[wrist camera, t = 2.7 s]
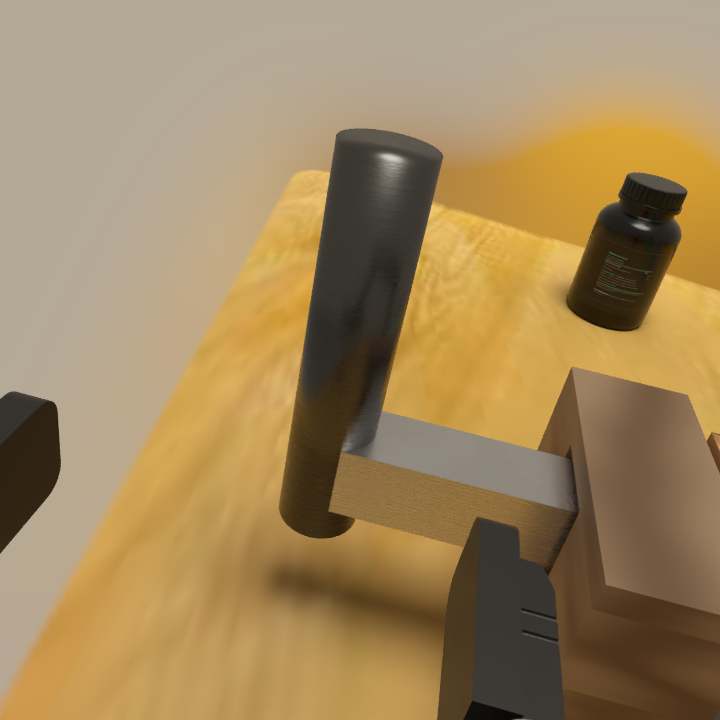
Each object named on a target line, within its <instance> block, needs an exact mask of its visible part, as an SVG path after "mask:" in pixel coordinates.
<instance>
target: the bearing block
mask: <svg viewBox="0 0 720 720" xmlns="http://www.w3.org/2000/svg"><path fill="white" fill-rule="evenodd" d="M537 451H541V452H545V453H549V454H553V455H557V456H561V457H565V458H569V459H572V460H573V466H574V473H575V481H576V489H577V496H578V504H579V514H578V516H577V518H576V520H575V522H574V524H573V526H572V528H571V531H570V533H569V535H568V537H567V539H566V541H565V543H564V545H563V547H562V549H561V551H560V553H559V555H558V557H557V559H556V561H555V564H554V566H553V568H552V570H548V569H544V570H545V572H546V574H547V576H548V578H549V580H550V582H551V584H552V586H553V588H554V590H555V599H556V611H557V619H556V622H557V624H558V636H559V640H558V645H559V649H560V661H561V674H562V686H563V698H564V711H565V720H720V473H719V471H718V468H717V466H716V464H715V461H714V459H713V456H712V454H711V451H710V449H709V446H708V444H707V441H706V439H705V436H704V434H703V432H702V429H701V427H700V424H699V422H698V419H697V417H696V414H695V412H694V409H693V407H692V404H691V402H690V399H689V397H688V395H685V394H681V393H677V392H673V391H669V390H665V389H661V388H657V387H653V386H649V385H645V384H641V383H637V382H632V381H628V380H624V379H620V378H616V377H612V376H608V375H604V374H600V373H596V372H592V371H588V370H584V369H580V368H576V367H571V370H570V372H569V375H568V377H567V379H566V382H565V384H564V387H563V389H562V392H561V394H560V396H559V399H558V401H557V404H556V406H555V409H554V411H553V413H552V416H551V418H550V421H549V423H548V426H547V428H546V430H545V433H544V435H543V438H542V440H541V443H540V445H539V447H538V450H537Z"/></svg>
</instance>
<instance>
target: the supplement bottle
mask: <svg viewBox="0 0 720 720" xmlns="http://www.w3.org/2000/svg"><path fill="white" fill-rule="evenodd" d="M686 195H687V190H686V189H685V188H684V187H683V186H681V185H680V184H678V183H676V182H673V181H671V180H668V179H665V178H662V177H659V176H655V175H650V174H645V173H635V172H634V173H629V174H628V175H627V176H626V179H625V181H624V184H623V186H622V189H621V190H620V192H619V195H618V196H619V198H620V201H619V202H616V203H612V204H609V205H607V206H606V207H605V208H603V209H602V210H601V211H600V213H599V215H598V217H597V219H596V222H595V224H594V227H593V230H592V232H591V235H590V237H589V240H588V243H587V245H586V248H585V251H584V253H583V256H582V258H581V261H580V264H579V266H578V269H577V271H576V274H575V277H574V279H573V282H572V285H571V288H570V290H569V293H568V303H569V305H570V307H571V309H572V310H573V311H574V312H575V313H576V314H578V315H579V316H580V317H582V318H584V319H585V320H587V321H589V322H591V323H594V324H596V325H599V326H602V327H606V328H610V329H616V330H630V329H634V328H636V327H638V326H639V325H641V323H642V322H643V321H644V319H645V317H646V315H647V312H648V310H649V308H650V306H651V304H652V302H653V300H654V297H655V295H656V293H657V291H658V289H659V287H660V284H661V282H662V280H663V278H664V276H665V273H666V271H667V269H668V267H669V265H670V263H671V260H672V258H673V256H674V253H675V252H676V250H677V247H678V245H679V243H680V240H681V229H680V227H679V225H678V223H677V222H676V221H675V220H674V216H675V215H678V214H680V212H681V210H682V204H683V202H684V200H685V198H686Z"/></svg>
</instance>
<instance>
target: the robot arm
mask: <svg viewBox="0 0 720 720" xmlns="http://www.w3.org/2000/svg"><path fill="white" fill-rule="evenodd" d="M60 467H61V458H60V442H59V428H58V412H57V407H56V405H55V403H54V402H52V401H49V400H45V399H41V398H38V397H34V396H30V395H26V394H23V393H19V392H9V393H7V394H6V395H5V396H3V397H2V398H1V399H0V553H1V552H2V551H3V550H4V548H5V547H6V546H7V545H8V544H9V543H10V541H11V540H12V539H13V538H14V537H15V535H16V534H17V533H18V532H19V531H20V529H21V528H22V527H23V525H25V523H26V522H27V521H28V520H29V519H30V518H31V516H32V515H33V514H34V513H35V512H36V510H37V509H38V508H39V507H40V506H41V504H42V503H43V502H44V501H45V500H46V499H47V497H48V496H49V495H50V493H51V492H52V490H53V488H54V486H55V484H56V482H57V479H58V476H59V472H60ZM556 619H557V611H556V599H555V590H554V588H553V586H552V584H551V582H550V580H549V578H548V576H547V574H546V572H545V570H544V568H543V566H542V564H539V563H535V562H532V561H528V560H524V559H520V540H519V529H518V527H515V526H512V525H508V524H504V523H500V522H497V521H493V520H489V519H485V518H482V517H477V518H476V519H475V521H474V523H473V526H472V528H471V531H470V533H469V536H468V539H467V541H466V544H465V547H464V549H463V552H462V554H461V557H460V560H459V562H458V565H457V567H456V570H455V573H454V576H453V579H452V583H451V587H450V592H449V597H448V604H447V614H446V625H445V637H444V648H443V660H442V671H441V683H440V694H439V706H438V717H437V720H565V711H564V698H563V686H562V674H561V661H560V649H559V645H558V640H559V636H558V624H557V622H556Z"/></svg>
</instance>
